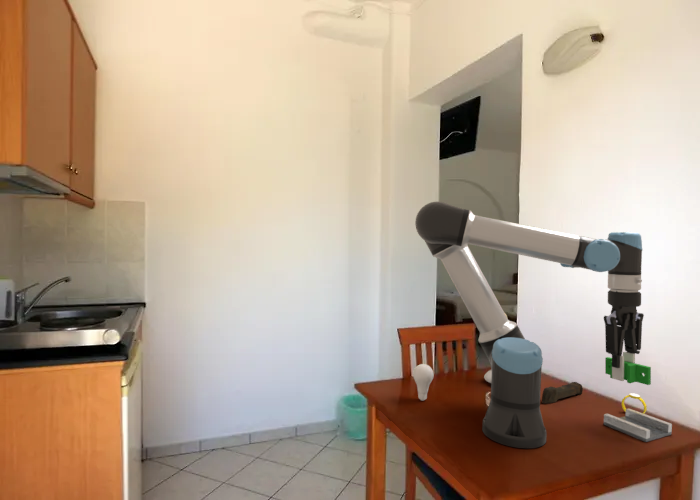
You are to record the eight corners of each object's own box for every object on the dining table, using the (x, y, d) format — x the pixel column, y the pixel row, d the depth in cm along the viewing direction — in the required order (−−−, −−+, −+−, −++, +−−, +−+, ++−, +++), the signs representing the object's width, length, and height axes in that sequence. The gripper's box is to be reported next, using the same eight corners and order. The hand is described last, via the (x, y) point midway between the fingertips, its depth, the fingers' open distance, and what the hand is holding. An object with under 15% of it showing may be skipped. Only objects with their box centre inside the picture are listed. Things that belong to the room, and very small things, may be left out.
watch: (646, 417, 125) (649, 397, 125) (643, 420, 123) (646, 400, 123) (622, 409, 129) (625, 390, 129) (619, 412, 128) (622, 392, 127)
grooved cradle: (645, 442, 109) (646, 431, 109) (603, 424, 119) (604, 414, 119) (671, 434, 114) (671, 423, 114) (628, 418, 124) (629, 408, 123)
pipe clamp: (599, 375, 120) (599, 358, 120) (607, 373, 122) (607, 357, 122) (642, 386, 110) (642, 368, 110) (650, 384, 112) (650, 366, 112)
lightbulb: (411, 402, 130) (412, 366, 130) (413, 395, 136) (414, 360, 136) (432, 405, 129) (433, 368, 128) (433, 398, 135) (434, 362, 134)
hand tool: (571, 392, 144) (571, 378, 144) (583, 396, 141) (583, 381, 141) (534, 401, 135) (534, 386, 135) (545, 406, 131) (546, 391, 131)
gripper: (618, 293, 109) (617, 387, 109) (658, 290, 116) (657, 377, 117) (590, 290, 116) (589, 378, 116) (629, 287, 123) (628, 370, 123)
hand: (623, 378), depth 116 cm, fingers closed on pipe clamp, 4 cm apart
